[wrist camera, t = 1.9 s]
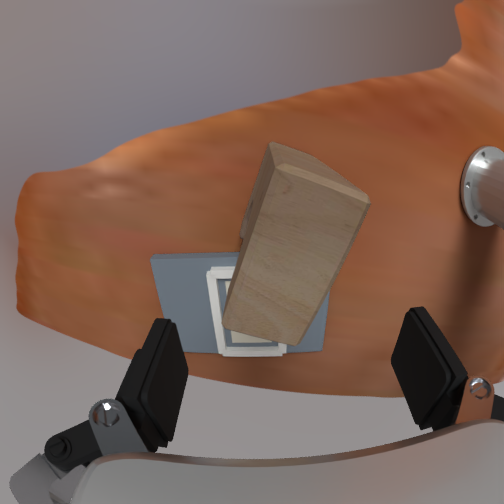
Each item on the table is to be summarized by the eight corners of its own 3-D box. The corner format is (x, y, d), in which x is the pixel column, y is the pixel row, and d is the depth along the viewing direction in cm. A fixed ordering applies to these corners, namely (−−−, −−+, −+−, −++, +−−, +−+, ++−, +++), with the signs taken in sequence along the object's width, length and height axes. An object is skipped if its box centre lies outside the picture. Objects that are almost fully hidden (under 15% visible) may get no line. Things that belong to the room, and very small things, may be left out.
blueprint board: (330, 249, 37) (334, 257, 35) (320, 344, 44) (322, 355, 42) (153, 254, 38) (147, 262, 36) (176, 345, 46) (172, 355, 43)
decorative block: (282, 237, 37) (297, 351, 18) (239, 223, 36) (216, 329, 18) (315, 156, 32) (378, 201, 14) (269, 139, 31) (278, 159, 13)
